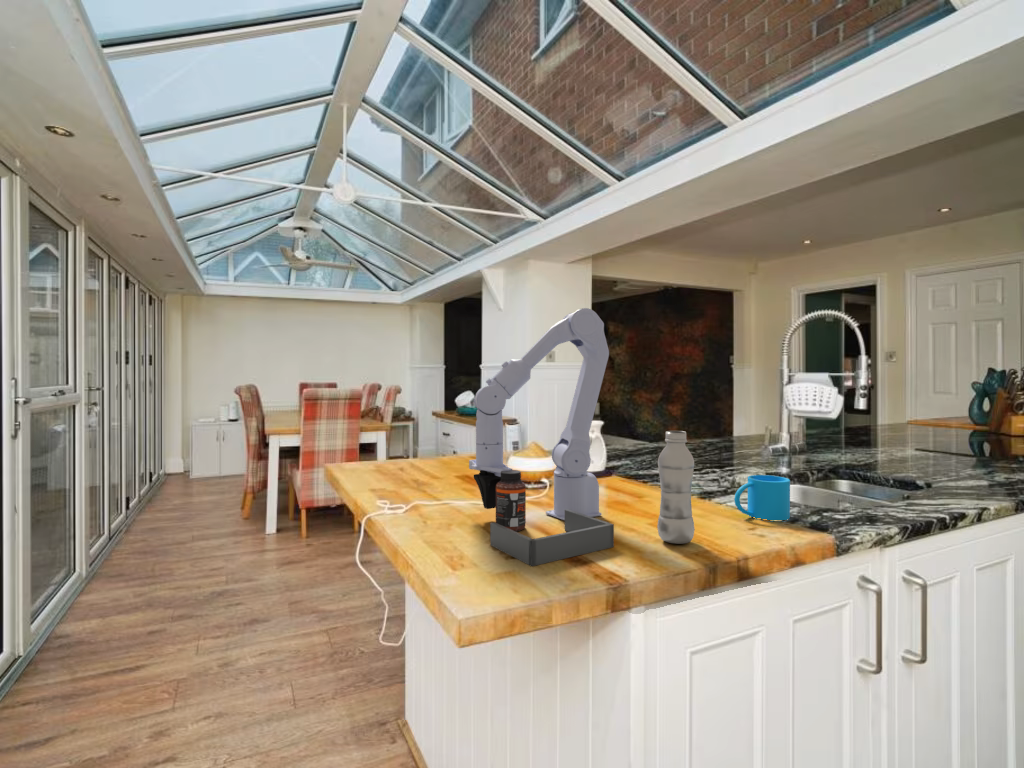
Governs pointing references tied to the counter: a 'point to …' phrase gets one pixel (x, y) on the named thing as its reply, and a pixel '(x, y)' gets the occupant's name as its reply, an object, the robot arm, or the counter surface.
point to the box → (555, 540)
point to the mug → (766, 497)
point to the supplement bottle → (511, 501)
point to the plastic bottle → (676, 490)
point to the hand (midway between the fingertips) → (489, 507)
